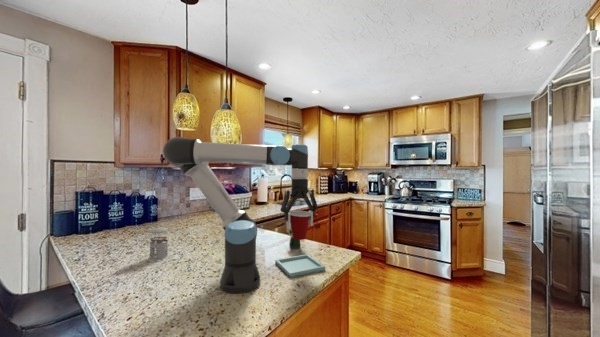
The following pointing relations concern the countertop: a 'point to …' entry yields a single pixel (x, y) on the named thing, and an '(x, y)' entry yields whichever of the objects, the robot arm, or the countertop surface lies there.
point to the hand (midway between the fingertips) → (299, 226)
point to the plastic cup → (299, 224)
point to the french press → (158, 244)
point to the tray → (299, 265)
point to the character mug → (293, 242)
